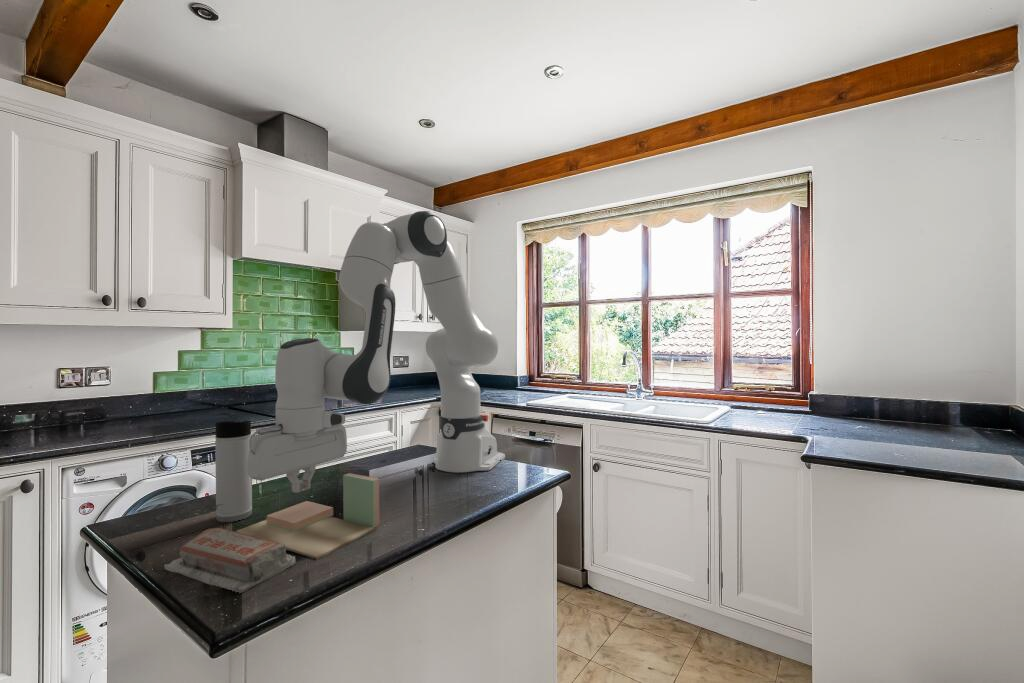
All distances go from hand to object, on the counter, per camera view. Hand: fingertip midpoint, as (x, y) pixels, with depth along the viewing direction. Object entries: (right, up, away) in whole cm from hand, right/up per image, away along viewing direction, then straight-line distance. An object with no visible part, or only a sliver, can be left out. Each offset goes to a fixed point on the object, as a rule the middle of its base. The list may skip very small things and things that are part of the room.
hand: (301, 490), depth 92 cm
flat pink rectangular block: (+2, -5, +4) cm, 7 cm away
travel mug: (-15, -6, +2) cm, 16 cm away
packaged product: (-3, -7, -18) cm, 20 cm away
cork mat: (+3, -6, -5) cm, 8 cm away
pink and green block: (+12, -6, -1) cm, 14 cm away
